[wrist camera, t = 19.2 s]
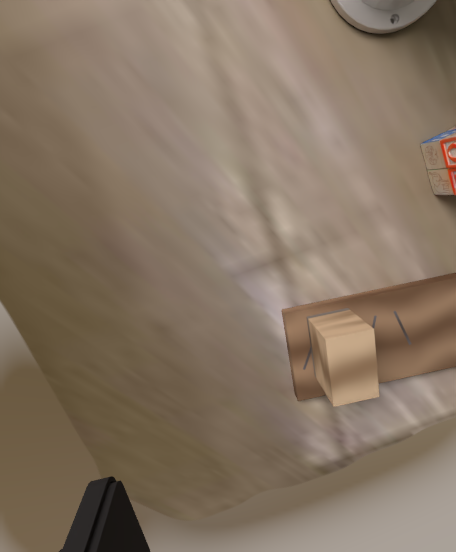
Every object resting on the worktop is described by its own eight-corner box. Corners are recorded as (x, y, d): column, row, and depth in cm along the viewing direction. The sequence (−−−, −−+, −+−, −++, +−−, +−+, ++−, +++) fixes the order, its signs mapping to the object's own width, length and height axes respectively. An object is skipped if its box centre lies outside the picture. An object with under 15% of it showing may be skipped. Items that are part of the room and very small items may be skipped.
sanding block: (306, 316, 38) (325, 339, 32) (347, 307, 38) (374, 328, 32) (314, 375, 40) (333, 406, 34) (353, 367, 40) (379, 396, 34)
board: (281, 309, 39) (284, 314, 37) (456, 272, 39) (466, 275, 38) (294, 393, 42) (298, 401, 41) (456, 358, 43) (465, 364, 41)
